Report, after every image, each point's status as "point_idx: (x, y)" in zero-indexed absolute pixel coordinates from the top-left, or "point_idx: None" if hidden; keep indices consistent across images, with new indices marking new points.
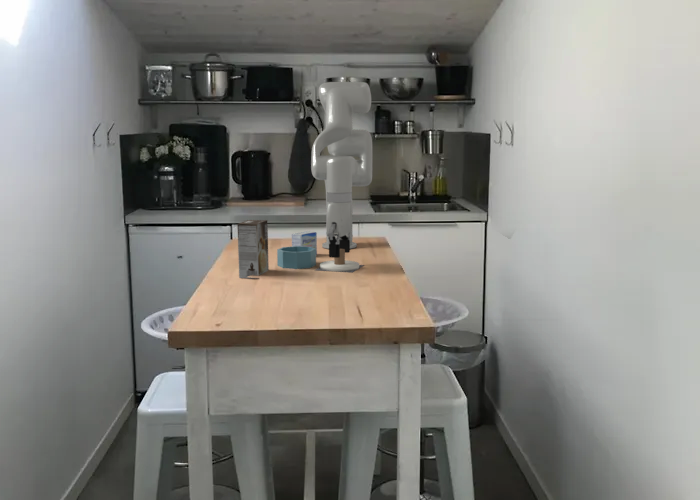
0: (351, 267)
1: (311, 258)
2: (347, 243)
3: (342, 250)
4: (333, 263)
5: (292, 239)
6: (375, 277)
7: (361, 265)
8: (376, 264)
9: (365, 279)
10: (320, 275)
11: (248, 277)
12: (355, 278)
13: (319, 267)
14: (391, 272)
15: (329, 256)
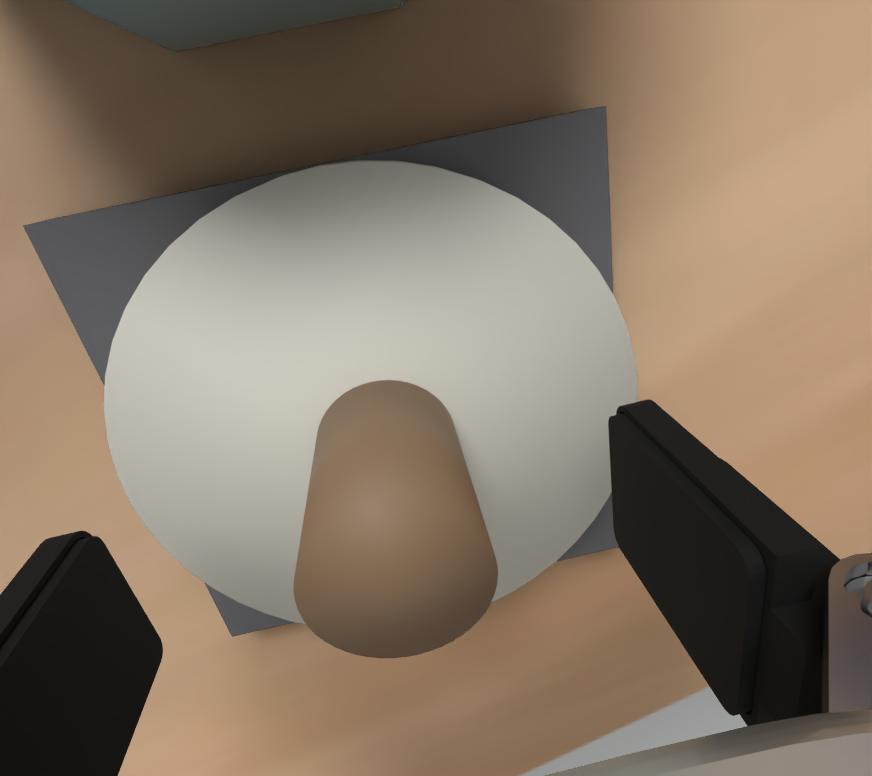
0: (301, 617)
1: (133, 3)
2: (696, 646)
3: (357, 650)
4: (363, 368)
5: None
6: (302, 742)
7: (597, 536)
8: (823, 517)
9: (187, 732)
10: (19, 353)
11: None
12: (164, 670)
13: (240, 185)
14: (531, 731)
15: (49, 545)
